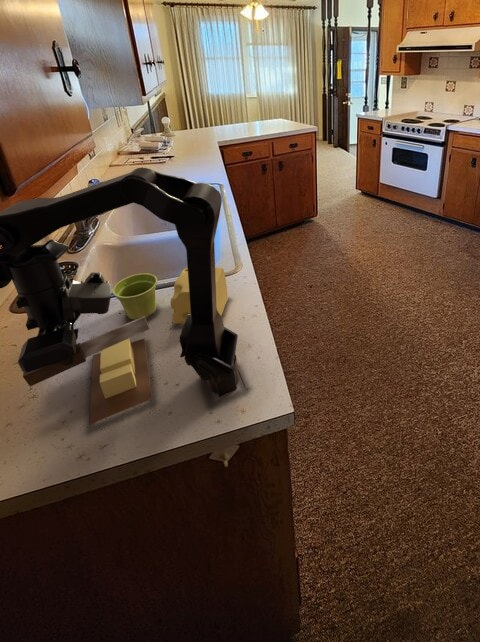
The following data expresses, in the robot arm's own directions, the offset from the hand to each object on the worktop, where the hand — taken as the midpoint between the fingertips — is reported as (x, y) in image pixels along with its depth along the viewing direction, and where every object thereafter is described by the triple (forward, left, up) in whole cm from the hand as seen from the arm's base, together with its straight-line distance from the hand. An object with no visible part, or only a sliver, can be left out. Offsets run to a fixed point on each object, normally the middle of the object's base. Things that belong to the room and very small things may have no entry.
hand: (70, 358), depth 60 cm
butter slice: (-2, -6, -9) cm, 11 cm away
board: (+2, -6, -10) cm, 12 cm away
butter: (+4, -6, -9) cm, 11 cm away
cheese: (+14, -24, -10) cm, 29 cm away
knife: (0, -3, -1) cm, 3 cm away
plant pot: (+21, -11, -10) cm, 25 cm away
